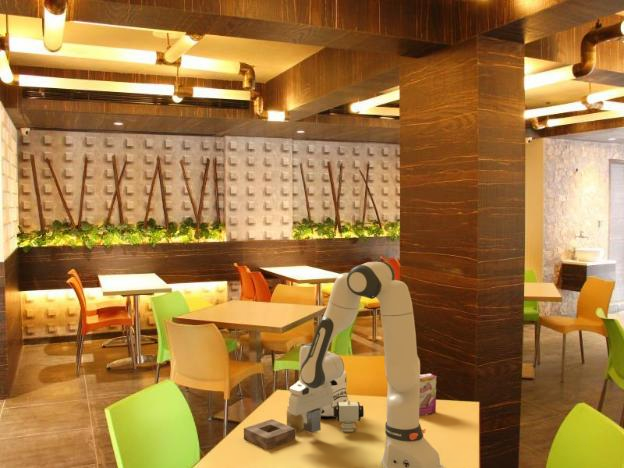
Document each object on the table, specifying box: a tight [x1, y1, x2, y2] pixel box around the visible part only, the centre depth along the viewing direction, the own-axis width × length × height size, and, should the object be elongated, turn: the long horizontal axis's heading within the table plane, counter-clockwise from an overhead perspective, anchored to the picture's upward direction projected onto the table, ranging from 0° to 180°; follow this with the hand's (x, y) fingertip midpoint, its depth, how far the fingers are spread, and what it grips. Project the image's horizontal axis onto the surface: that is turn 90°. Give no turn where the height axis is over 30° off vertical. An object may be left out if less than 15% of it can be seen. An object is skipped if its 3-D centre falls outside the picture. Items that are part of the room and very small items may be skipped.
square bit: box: [304, 409, 322, 434], centre depth 229 cm, size 4×4×8 cm
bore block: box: [243, 419, 296, 450], centre depth 230 cm, size 14×14×4 cm
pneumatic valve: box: [333, 400, 365, 433], centre depth 238 cm, size 6×12×12 cm, turn 91°
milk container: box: [321, 370, 350, 418], centre depth 257 cm, size 17×17×18 cm
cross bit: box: [286, 405, 306, 432], centre depth 241 cm, size 8×8×8 cm
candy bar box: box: [419, 373, 438, 417], centre depth 257 cm, size 11×5×16 cm, turn 115°
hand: (312, 420), depth 229 cm, fingers closed on square bit, 4 cm apart
